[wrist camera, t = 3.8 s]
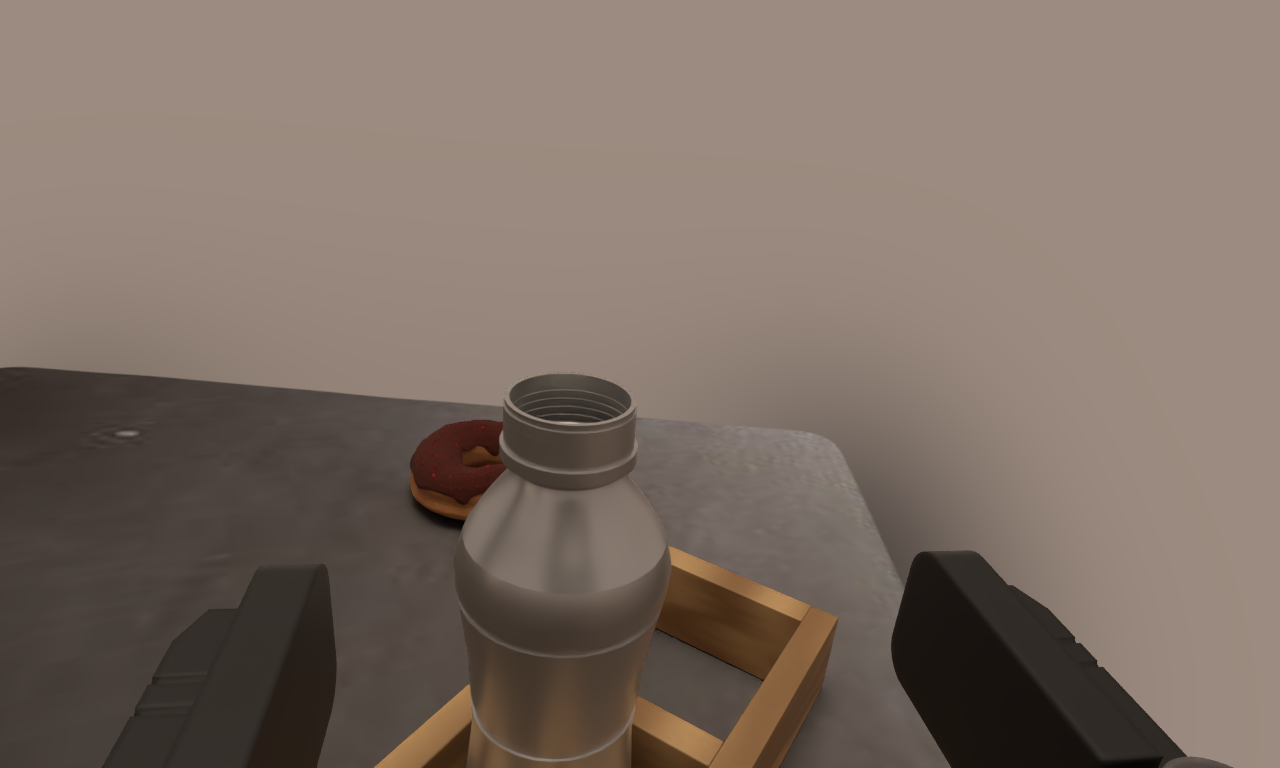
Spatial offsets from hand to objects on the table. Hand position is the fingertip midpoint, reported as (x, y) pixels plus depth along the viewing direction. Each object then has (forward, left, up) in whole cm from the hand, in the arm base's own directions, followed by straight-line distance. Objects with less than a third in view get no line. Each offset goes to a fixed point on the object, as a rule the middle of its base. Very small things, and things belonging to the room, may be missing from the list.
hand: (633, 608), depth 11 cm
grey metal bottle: (-7, +9, -22) cm, 25 cm away
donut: (-27, +28, -22) cm, 45 cm away
